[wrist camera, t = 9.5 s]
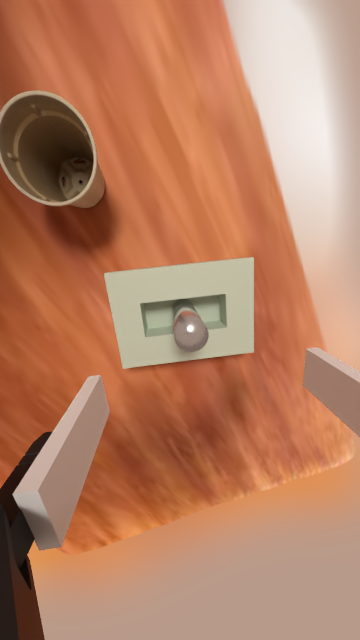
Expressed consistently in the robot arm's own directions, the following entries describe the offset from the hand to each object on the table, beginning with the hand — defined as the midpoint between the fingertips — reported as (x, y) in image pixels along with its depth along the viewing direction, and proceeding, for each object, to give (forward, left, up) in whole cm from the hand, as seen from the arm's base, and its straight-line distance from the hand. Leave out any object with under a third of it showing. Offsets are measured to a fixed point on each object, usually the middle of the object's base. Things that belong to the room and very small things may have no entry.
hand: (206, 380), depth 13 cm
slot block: (0, 0, -22) cm, 22 cm away
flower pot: (-19, -12, -22) cm, 31 cm away
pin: (0, 0, -21) cm, 21 cm away
